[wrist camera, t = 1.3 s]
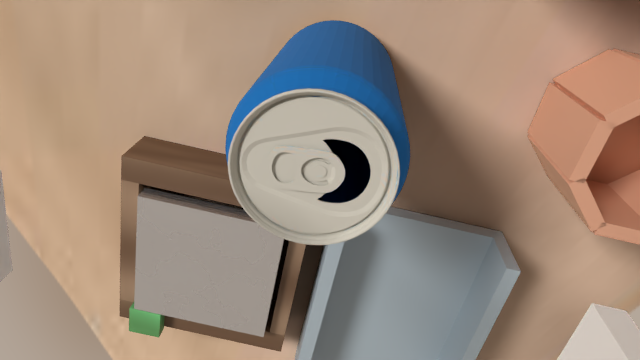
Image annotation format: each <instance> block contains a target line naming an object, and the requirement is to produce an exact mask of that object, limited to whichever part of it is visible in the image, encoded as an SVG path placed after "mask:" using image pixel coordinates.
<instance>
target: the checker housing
mask: <svg viewBox="0 0 640 360" xmlns="http://www.w3.org/2000/svg"><path fill="white" fill-rule="evenodd" d="M144 188H149V189H153V190H158V188H161V189H165V190H170V191H174V192H178V193H183V194H187V195H192V196H196V197H201V198H205V199H210V200H214V201H219V202H223V203H227V204H232V205H236V206H241V205H240V203H239V202H238V200H237V198H236V196H235V194H234V192H233V189H232V186H231V183H230V179H229V174H228V165H227V160H226V155H225V154H221V153H217V152H212V151H208V150H203V149H199V148H195V147H190V146H186V145H181V144H177V143H172V142H168V141H164V140H159V139H155V138H150V137H146V136H144V137H143V138H142V139H141V140H140V141H138V142H137V143H136V144H135V145H134V146H133V147H131V148H130V149H129V150H128V151H127V152H126V153H125V154H123V155H122V166H121V250H120V316H121V317H126V318H129V331H132V332H136V333H141V334H146V335H150V336H155V337H159V336H160V334H161V333H162V331H163V329H164V326H167V327H171V328H176V329H180V330H185V331H190V332H194V333H199V334H203V335H208V336H212V337H217V338H221V339H226V340H231V341H235V342H240V343H244V344H249V345H253V346H258V347H262V348H267V349H271V350H276V351H281V348H282V344H283V340H284V336H285V331H286V327H287V323H288V319H289V314H290V310H291V306H292V302H293V298H294V293H295V289H296V285H297V281H298V276H299V272H300V268H301V264H302V259H303V255H304V251H305V247H306V244H300V243H295V242H292V241H289V245H288V249H287V254H286V259H285V263H284V268H283V272H282V277H281V282H280V286H279V291H278V296H277V300H276V301H274V300H272V301H271V306H270V311H269V316H268V321H267V325H266V329H265V333H264V337H260V336H256V335H251V334H247V333H242V332H238V331H233V330H228V329H224V328H219V327H215V326H210V325H206V324H201V323H197V322H192V321H188V320H183V319H179V318H174V317H169V316H165V315H160V314H156V313H151V312H147V311H142V310H138V309H134V296H135V264H136V231H137V199H138V195H139V194H140V193H141V192H142V191H143V190H144ZM241 207H242V206H241Z"/></svg>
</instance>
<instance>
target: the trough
mask: <svg viewBox="0 0 640 360" xmlns="http://www.w3.org/2000/svg"><path fill="white" fill-rule="evenodd" d="M520 272H521V271H520V269H519V267H518V264H517V262H516V260H515V258H514V256H513V254H512V252H511V250H510V248H509V245H508V243H507V241H506V239H505V237H504V235H503V233H502V232H501V231H496V230H492V229H487V228H483V227H479V226H474V225H470V224H465V223H461V222H456V221H452V220H448V219H443V218H439V217H434V216H430V215H425V214H421V213H417V212H412V211H408V210H403V209H399V208H394V207H390V208H389V209H388V211H387V212H386V214H385V215H384V216H383V217H382V219H381V220H380V221H379V222H378V223H376V224H375V225H374V226H373V227H372V228H370V229H369V230H368V231H366V232H365V233H363V234H361V235H359V236H357V237H355V238H353V239H350V240H348V241H344V242H340V243H336V244H330V245H324V246H323V249H322V253H321V257H320V261H319V265H318V269H317V273H316V277H315V280H314V284H313V288H312V292H311V296H310V300H309V304H308V308H307V311H306V315H305V319H304V323H303V327H302V331H301V335H300V339H299V343H298V346H297V350H296V355H295V360H476V358H477V356H478V354H479V352H480V350H481V348H482V346H483V344H484V342H485V341H486V339H487V337H488V335H489V333H490V331H491V329H492V327H493V325H494V323H495V321H496V319H497V317H498V315H499V313H500V311H501V309H502V307H503V305H504V304H505V302H506V300H507V298H508V296H509V294H510V292H511V290H512V288H513V286H514V284H515V282H516V280H517V278H518V276H519V274H520Z"/></svg>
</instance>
